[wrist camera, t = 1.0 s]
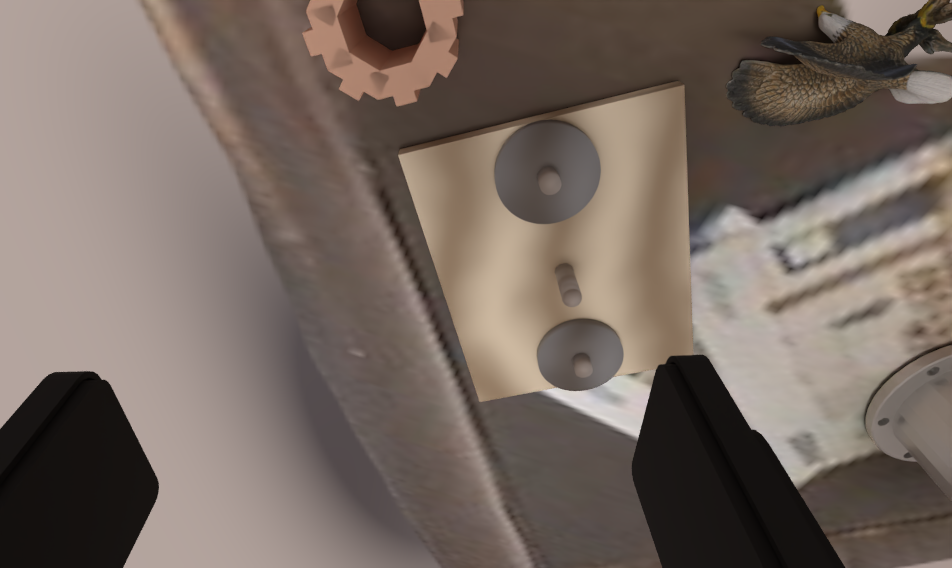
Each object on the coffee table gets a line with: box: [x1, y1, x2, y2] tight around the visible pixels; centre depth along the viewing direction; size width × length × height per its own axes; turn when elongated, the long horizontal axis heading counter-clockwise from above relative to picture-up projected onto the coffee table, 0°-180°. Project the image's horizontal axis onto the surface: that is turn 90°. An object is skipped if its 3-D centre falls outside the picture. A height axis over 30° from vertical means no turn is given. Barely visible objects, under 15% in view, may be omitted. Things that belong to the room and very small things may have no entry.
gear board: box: [398, 81, 693, 402], centre depth 34 cm, size 16×20×5 cm
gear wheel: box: [302, 0, 464, 106], centre depth 26 cm, size 7×7×5 cm
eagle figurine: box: [726, 0, 952, 126], centre depth 27 cm, size 8×7×9 cm
